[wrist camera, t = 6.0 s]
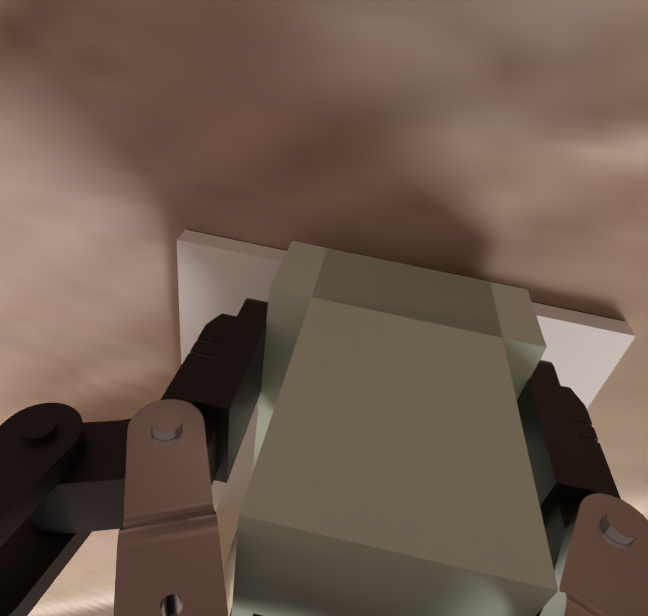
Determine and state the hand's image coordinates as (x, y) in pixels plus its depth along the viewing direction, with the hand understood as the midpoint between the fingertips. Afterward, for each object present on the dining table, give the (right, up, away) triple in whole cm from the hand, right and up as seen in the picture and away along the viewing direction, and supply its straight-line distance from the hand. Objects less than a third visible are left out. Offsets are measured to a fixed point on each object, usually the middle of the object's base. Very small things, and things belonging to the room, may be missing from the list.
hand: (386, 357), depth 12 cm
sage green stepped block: (0, -3, +4) cm, 5 cm away
